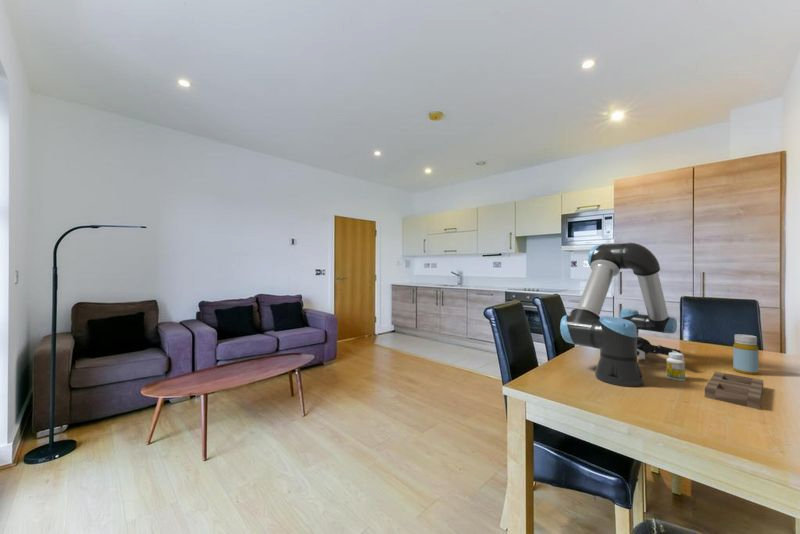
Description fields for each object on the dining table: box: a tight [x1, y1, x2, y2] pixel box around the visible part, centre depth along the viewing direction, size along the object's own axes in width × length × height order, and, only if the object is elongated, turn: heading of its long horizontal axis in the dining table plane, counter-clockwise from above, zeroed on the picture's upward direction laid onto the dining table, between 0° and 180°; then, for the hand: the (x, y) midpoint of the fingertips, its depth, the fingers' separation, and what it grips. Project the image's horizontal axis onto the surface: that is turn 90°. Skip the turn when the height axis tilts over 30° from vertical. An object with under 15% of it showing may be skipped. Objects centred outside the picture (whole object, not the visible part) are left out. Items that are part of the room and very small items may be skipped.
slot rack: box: [704, 371, 764, 410], centre depth 108 cm, size 26×12×3 cm, turn 129°
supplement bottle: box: [666, 352, 686, 382], centre depth 122 cm, size 5×5×10 cm
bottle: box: [732, 333, 760, 376], centre depth 129 cm, size 7×7×15 cm
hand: (663, 356), depth 130 cm, fingers open, 13 cm apart
